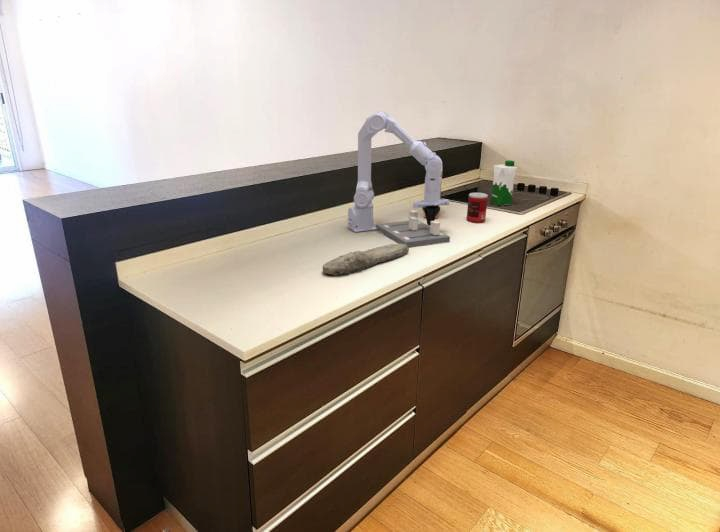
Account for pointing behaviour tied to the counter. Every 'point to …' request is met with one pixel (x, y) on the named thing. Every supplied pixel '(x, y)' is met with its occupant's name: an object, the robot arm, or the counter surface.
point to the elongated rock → (364, 259)
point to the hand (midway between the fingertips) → (430, 224)
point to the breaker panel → (411, 234)
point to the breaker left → (413, 213)
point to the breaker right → (435, 227)
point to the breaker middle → (413, 223)
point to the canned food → (477, 207)
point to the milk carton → (503, 183)
